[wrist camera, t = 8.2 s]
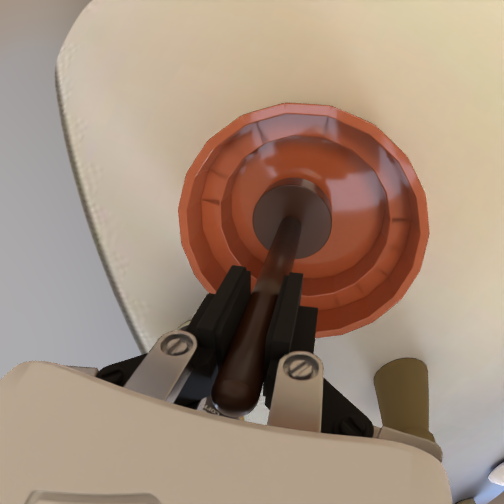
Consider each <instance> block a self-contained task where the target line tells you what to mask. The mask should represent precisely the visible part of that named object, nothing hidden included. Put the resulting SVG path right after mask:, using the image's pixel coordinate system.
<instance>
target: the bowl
mask: <svg viewBox="0 0 504 504" xmlns="http://www.w3.org/2000/svg"><path fill="white" fill-rule="evenodd" d="M285 178H302V179H306V180H308V181H311V182H312V183H314V184H316V185H317V186H318V187H320V188H321V189H322V190H323V192H324V193H325V194H326V196H327V198H328V199H329V202H330V205H331V210H332V229H331V233H330V236H329V239H328V241H327V242H326V244H325V245H324V246H323V247H322V248H321V249H320V250H319V251H318V252H316V253H315V254H313V255H311V256H309V257H306V258H301V259H295V260H294V265H293V269H292V272H294V273H303V284H302V293H301V302H300V306H307V307H315V308H318V315H317V325H316V334H315V338H321V337H329V336H337V335H343V334H345V333H348V332H350V331H353V330H355V329H358V328H360V327H363V326H365V325H367V324H370V323H372V322H374V321H375V320H376V319H378V318H379V317H380V316H382V315H383V314H384V313H385V312H387V311H388V310H389V309H390V308H392V307H393V306H394V305H395V304H396V303H398V302H399V301H400V300H401V299H402V297H403V296H404V294H405V293H406V291H407V290H408V288H409V287H410V285H411V284H412V282H413V281H414V279H415V278H416V276H417V275H418V273H419V272H420V269H421V265H422V261H423V258H424V254H425V250H426V246H427V242H428V238H429V222H428V211H427V202H426V195H425V192H424V190H423V188H422V186H421V183H420V181H419V179H418V177H417V175H416V173H415V171H414V169H413V167H412V165H411V163H410V161H409V159H408V157H407V156H406V155H405V154H404V153H403V152H402V151H401V150H400V149H399V148H398V147H397V146H396V145H395V144H394V143H393V142H392V141H391V140H390V139H389V138H388V137H387V136H386V135H385V134H384V133H383V132H382V131H381V130H380V129H379V128H377V127H376V126H375V125H374V124H372V123H370V122H368V121H365V120H363V119H361V118H359V117H357V116H354V115H352V114H350V113H348V112H345V111H343V110H340V109H338V108H336V107H333V106H329V105H317V104H301V103H281V104H278V105H274V106H271V107H267V108H264V109H260V110H257V111H254V112H251V113H247V114H244V115H242V116H240V117H238V118H237V119H236V120H234V121H233V122H232V123H230V124H229V125H228V126H226V127H225V128H223V129H222V130H221V131H219V132H218V133H217V134H216V135H214V136H213V137H212V138H210V139H209V140H208V141H207V142H206V144H205V145H204V147H203V148H202V150H201V151H200V153H199V154H198V156H197V157H196V159H195V161H194V162H193V164H192V165H191V167H190V168H189V170H188V171H187V174H186V177H185V181H184V186H183V190H182V194H181V198H180V203H179V207H178V213H179V224H180V234H181V243H182V246H183V249H184V251H185V254H186V256H187V258H188V261H189V263H190V265H191V268H192V270H193V273H194V275H195V276H196V278H197V279H198V280H199V281H200V283H201V284H202V285H203V286H204V288H205V289H206V290H207V291H208V292H209V293H212V294H216V292H217V290H218V288H219V287H220V285H221V283H222V281H223V280H224V278H225V276H226V275H227V273H228V271H229V269H230V268H231V266H232V265H235V266H243V267H246V269H247V271H251V293H252V291H253V288H254V286H255V284H256V281H257V279H258V276H259V274H260V271H261V269H262V267H263V264H264V262H265V259H266V257H267V254H268V252H269V251H268V250H267V249H266V248H265V247H264V246H263V245H262V244H261V243H260V241H259V240H258V238H257V236H256V234H255V232H254V229H253V222H252V218H253V211H254V208H255V205H256V204H257V202H258V200H259V199H260V197H261V196H262V195H263V193H264V192H265V190H266V189H267V188H268V187H269V186H270V185H272V184H273V183H275V182H277V181H279V180H281V179H285Z"/></svg>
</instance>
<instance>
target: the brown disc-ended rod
mask: <svg viewBox="0 0 504 504" xmlns="http://www.w3.org/2000/svg"><path fill="white" fill-rule="evenodd" d="M252 222H253V229H254V232H255V234H256V236H257V238H258V240H259V241H260V243H261V244H262V245H263V246H264V247H265V248H266V249H267V250H268V251H269V252H268V254H267V257H266V259H265V262H264V264H263V267H262V269H261V271H260V274H259V276H258V279H257V281H256V284H255V286H254V288H253V291H252V293H251V296H250V298H249V301H248V303H247V305H246V308H245V310H244V313H243V315H242V317H241V320H240V322H239V325H238V327H237V329H236V332H235V334H234V337H233V339H232V341H231V344H230V346H229V349H228V351H227V353H226V356H225V358H224V360H223V363H222V365H221V367H220V370H219V372H218V374H217V377H216V379H215V382H214V384H213V386H212V390H211V399H212V402H213V404H214V406H215V408H216V409H217V410H218V411H219V412H220V413H222V414H223V415H226V416H229V417H242V416H245V415H247V414H249V413H250V412H251V411H252V410H253V409H254V408H255V407H256V405H257V403H258V400H259V396H260V393H261V389H262V386H263V382H264V379H265V375H266V371H265V368H264V363H265V343H266V337H267V333H268V329H269V326H270V322H271V319H272V316H273V312H274V309H275V305H276V302H277V298H278V295H279V291H280V288H281V284H282V281H283V277H284V275H289V273H290V272H292V269H293V265H294V260H295V259H301V258H306V257H309V256H311V255H313V254H315V253H316V252H318V251H319V250H320V249H321V248H322V247H323V246H324V245H325V244H326V242H327V241H328V239H329V236H330V233H331V229H332V210H331V205H330V202H329V199H328V198H327V196H326V194H325V193H324V192H323V190H322V189H321V188H320V187H318V186H317V185H316V184H314V183H312V182H311V181H308V180H306V179H302V178H285V179H281V180H279V181H277V182H275V183H273V184H272V185H270V186H269V187H268V188H267V189H266V190H265V192H264V193H263V195H262V196H261V197H260V199H259V200H258V202H257V204H256V205H255V208H254V211H253V218H252Z"/></svg>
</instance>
